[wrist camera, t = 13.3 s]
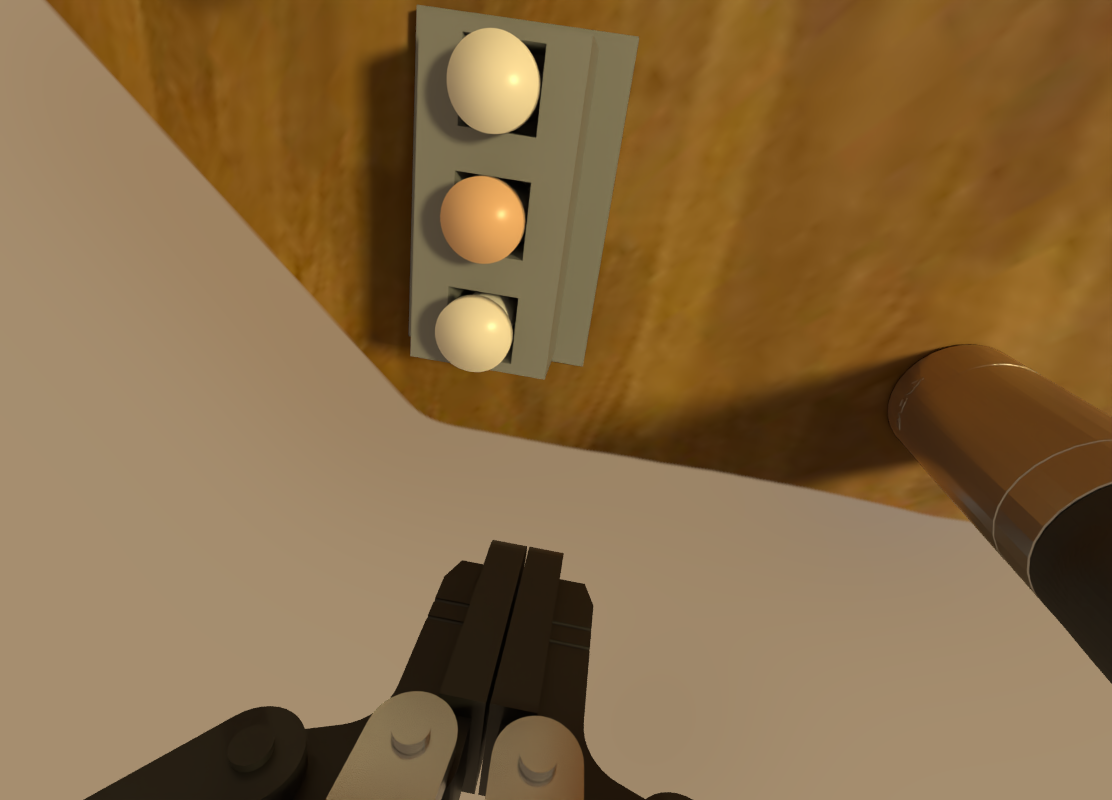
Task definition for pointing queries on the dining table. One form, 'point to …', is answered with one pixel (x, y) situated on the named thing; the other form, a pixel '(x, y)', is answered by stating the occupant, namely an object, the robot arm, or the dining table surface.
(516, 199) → the knob mid
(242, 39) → the dining table surface
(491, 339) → the knob far
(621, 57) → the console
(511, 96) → the knob near
